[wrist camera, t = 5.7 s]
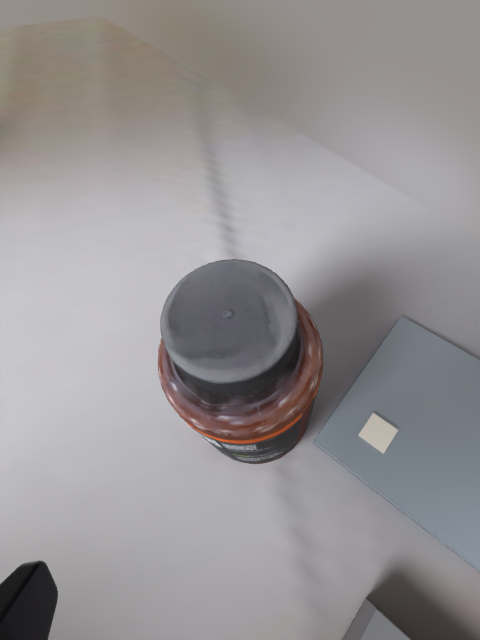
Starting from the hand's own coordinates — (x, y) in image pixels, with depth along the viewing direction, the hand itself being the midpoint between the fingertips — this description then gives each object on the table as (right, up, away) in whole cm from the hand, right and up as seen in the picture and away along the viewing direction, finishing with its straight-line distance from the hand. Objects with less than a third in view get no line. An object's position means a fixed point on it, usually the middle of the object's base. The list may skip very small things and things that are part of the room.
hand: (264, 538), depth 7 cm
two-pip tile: (+10, -1, +11) cm, 15 cm away
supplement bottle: (0, -1, +13) cm, 13 cm away
